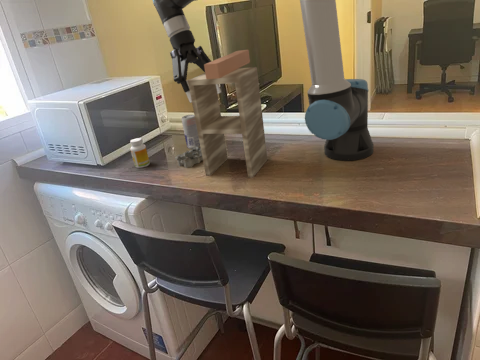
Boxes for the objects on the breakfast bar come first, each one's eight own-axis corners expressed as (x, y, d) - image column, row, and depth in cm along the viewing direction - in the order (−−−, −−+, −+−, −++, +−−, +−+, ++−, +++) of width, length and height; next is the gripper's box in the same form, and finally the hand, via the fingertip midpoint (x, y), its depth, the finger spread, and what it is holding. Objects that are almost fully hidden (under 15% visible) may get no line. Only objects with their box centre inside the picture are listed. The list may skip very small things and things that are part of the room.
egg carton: (187, 169, 128) (185, 158, 127) (174, 165, 134) (172, 154, 132) (211, 158, 135) (209, 147, 133) (198, 154, 140) (196, 144, 138)
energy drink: (193, 143, 152) (187, 114, 147) (203, 144, 149) (198, 114, 144) (184, 148, 148) (178, 118, 143) (194, 149, 145) (188, 119, 140)
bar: (250, 62, 124) (248, 49, 122) (219, 78, 104) (216, 63, 103) (238, 63, 126) (237, 50, 124) (206, 79, 106) (203, 64, 104)
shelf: (267, 159, 126) (256, 67, 113) (252, 177, 115) (239, 77, 102) (223, 158, 132) (209, 70, 120) (205, 175, 121) (187, 80, 108)
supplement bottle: (153, 162, 138) (146, 137, 134) (143, 168, 134) (137, 142, 130) (141, 161, 141) (134, 137, 137) (132, 167, 136) (124, 142, 132)
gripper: (195, 37, 133) (219, 94, 136) (144, 41, 113) (173, 108, 116) (210, 27, 128) (235, 87, 131) (160, 30, 108) (190, 100, 112)
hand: (206, 97), depth 124 cm, fingers open, 13 cm apart
